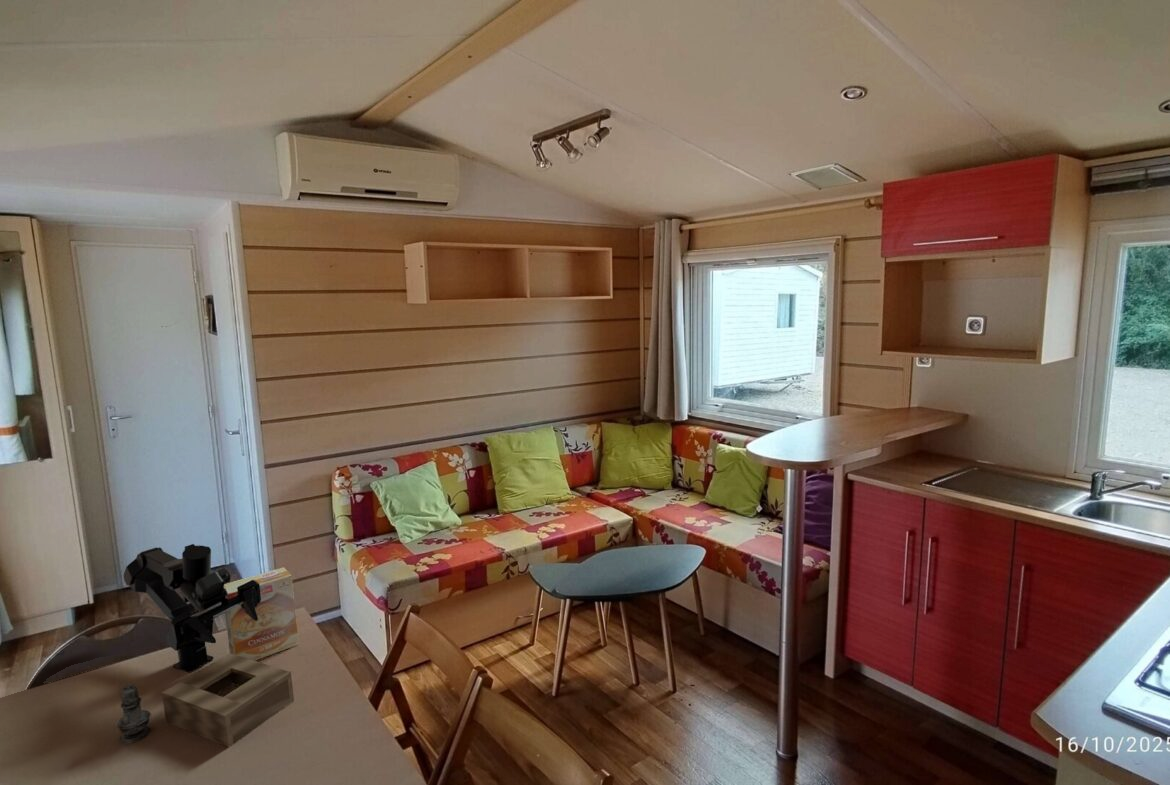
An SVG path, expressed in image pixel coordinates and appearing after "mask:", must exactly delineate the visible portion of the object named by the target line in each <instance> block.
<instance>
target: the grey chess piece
mask: <svg viewBox="0 0 1170 785" xmlns="http://www.w3.org/2000/svg"><path fill="white" fill-rule="evenodd" d="M125 685H126V686H124V687H123V688H122V689H121V691H120V698H121V704H120V708H121V709H122V712H123V715H122V717H121V718H120V719H119V720H118V721H117V722H116V728H117V729H118V730H119V732H120V733H122V736H121V737H120V742H121V743H122V744H133V743H137V742H139V741H142V740H143V739H145V738H146V737H148V736H149V734H150V733H151V732H152V727H151V726H149V725H148V724H149V722H150V717H151V715H152V714H151V712H150V711H149V710H146V709H142V706H141V702H142V697H140V696H139V690H138V686H137V685H136V684H131V683H130V682H127V683H126V684H125Z"/></svg>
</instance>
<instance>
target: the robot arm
mask: <svg viewBox="0 0 1170 785" xmlns="http://www.w3.org/2000/svg"><path fill="white" fill-rule="evenodd" d="M181 554H182V555H181V556H182V558H177V557H175V556H174V555H171V554H170V553H167V552H166V551H164V550H163V549H162V548H161V547H160V546H159V547H158V546H157V547H152V548H150V549H147V550H144V551H140V552H139V553H138V554H137V555H136V558H135V559H133V560H132V561H130V563H128V565H126V567H125V569H124V573H123V580H124V582H125V584H126V586H127V587H129V588H131V589H132V590H133V591H134V592H136V593H142V594H147V595H148V596H149V598H150V599H151V600H152V601H153V602H154V603H155V604H156V606H157V607H158V608H159V609H160V610H161V611H162V613H163V614H164V615H165V617H167V618H168V620H169V621H170V622H169V626H170V628H169V630H168V632H167V633H166V636H165V639H166V644H167V646H168V647H170V648H171V649H173V650H174V651H175V652H177V656H178V657H177V658H178V661H177V662H176V663H174V664H172V667H173V668H174V669H177V670H180V671H183V672H186V673H192V672H193V671H195V670H197V669H199V668H201V667H202V666H204V665H205V664H207V663H209V662H210V661H213V660H214V656H213V655H209V654H208V652H207V651H208V650H207V646H206V643H209V644H216V643H217V639H216V638H215V637H214V635H213V629H214V619H215V618H218V617H220V616H221V615H223V614H224V615H225V613H226V612H227V611H229V610H231V609H233V608H235V607H237V606H239V605H241V607H242V608H243V609H244V610H245V612H246V613H247V614H248V615H249V616H250V617H251V618H252V619H253V620H255V621H257V620H258V617H257V613H256V610H255V607H257V605H258V604H259V603H260V601H261V595H260V585H259V583H258V582H257V581H255V580H251V581H249V582H247V583H245V584H243V585H241V586H239V587H237V591H238V595H237V596H235V597H232V598H230V599H227V598H226V597H225V596H226V595H227V591H226V590H225V589H224V584H227V583H230V582H231V578H232V576H231V572H229V570H228V569H226V568H225V567H223V568H221V569H218V570H216V571H214V572H211V570H212V569H211V565H212V549H211V547H210V546H205V545H196V544H194V543H192V544H189V545H185V546H184V549H183V552H182V553H181ZM177 589H179V592H180V593H181V595H182V596H181V595H180V594H179V593H178V592H177V591H176V590H177Z"/></svg>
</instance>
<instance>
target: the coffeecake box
mask: <svg viewBox="0 0 1170 785" xmlns="http://www.w3.org/2000/svg"><path fill="white" fill-rule="evenodd" d="M292 576H293V575H292V574H291V573H290V572H289V571H288V570H287V569H286V568H285V567H280V568H275V569H274V570H270V571H266V572H263V573H259V574H255V575H252V576H248V577H245V578H241V579H238V580H235V581H230V582H228V583H226V584H224V589H225V590H226V591H227V595H226V596H225V597H226V598H227V599H230V598H232V597H235V596H237V595H238V591H237V587H239V586H241V585H243V584H245V583H247V582H249V581H251V580H255V581H257V582H258V583H259V585H260V595H261V601H260V603H259V604H258V605H257V607H255V610H256V613H257V617H258V620H257V621H255V620H253V619H252V618H251V617H250V616H249V615H248V614H247V613H246V612H245V610H244V609H243V608H242V607H241V605H239V606H237V607H235V608H233V609H231V610H229V611H227V612H226V613H224V615H225V623H226V631H227V638H228V639H227V640H228V648H229V653H231V654H234V655H238V656H241V657H244V658H247V659H251V660H254V661H258V660H261V659H263V658H266V657H269V656H271V655H274V654H277V653H279V652H282V651H286V650H287V649H290V648H293V647H297V646H298V645H299V644H300V640H299V632H298V625H297V624H298V623H297V615H296V614H297V611H296V606H295V605H296V603H295V594H294V593H295V592H294V586H293V578H292Z"/></svg>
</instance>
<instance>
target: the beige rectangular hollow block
mask: <svg viewBox="0 0 1170 785" xmlns="http://www.w3.org/2000/svg"><path fill="white" fill-rule="evenodd" d="M231 685H235V686H238V687H237V688H235V689H234V690H232V691H230V692H229V693H228V694H226V695H224V696H220V695H218V693H220V692H221V691H224V689H227V688H229V687H230V686H231ZM161 695H162V696H161V697H162V702H163V703H162V704H163V710H164V711H163V712H164V717H165V723H167V724H170V725H172V726H175V727H177V728H180V729H182V730H185V731H188V732H190V733H193V734H195V735H197V736H200V737H203V738H205V739H208V740H210V741H212V742H215V743H218V744H220V745H223V746H225V747H227V748H230V747H231V746H233V745H234V744H236V743H237V742H239V740H242V738H244V737H245V736H247V735H248V734H250V733H251V732H253V731H254V730H256V729H257V728H258V727H259V726H261V725H262V724H264V723H265V722H266V721H267V720H269V719H270V718H272V717H274V716H275V715H276V714H278V713H279V712H280V711H282V710H283V709H285V708H286V707H287V706H288V705H290V704H292V702H294V701H295V697H294V696H295V695H294V688H293V679H292V671H290V670H285V669H283V668H279V667H276V666H273V665H270V664H266V663H263V662H260V661H258V660H256V661H254V660H251V659H247V658H244V657H241V656H238V655H234V654H231V653H230V652H229V653H228V654H226V655H225V656H223V657H221V658H219V659H217V660H215V661H214V662H212V663H211V664H209V665H207V666H205V667H203V668H202V669H200V670H198V671H196V672H195V673H193V674H191V675H189V676H187V678H186V677H185V678H184V679H183V680H181V681H180V682H177V683H176V684H174V685H172V686H171V687H169V688H167V689H165V690H163V691H161Z"/></svg>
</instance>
